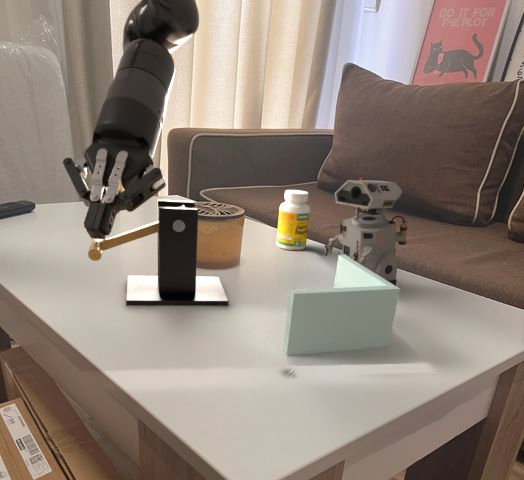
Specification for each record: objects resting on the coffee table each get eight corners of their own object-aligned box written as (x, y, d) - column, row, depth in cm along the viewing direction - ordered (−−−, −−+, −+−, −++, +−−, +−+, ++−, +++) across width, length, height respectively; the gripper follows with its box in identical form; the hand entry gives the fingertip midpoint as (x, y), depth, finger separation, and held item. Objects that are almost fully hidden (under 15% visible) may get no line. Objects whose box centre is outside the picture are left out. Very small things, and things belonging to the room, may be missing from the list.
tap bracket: (126, 312, 61) (123, 210, 56) (127, 286, 69) (125, 194, 64) (227, 312, 64) (234, 215, 59) (218, 287, 72) (222, 199, 67)
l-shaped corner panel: (335, 311, 67) (344, 254, 64) (386, 353, 57) (400, 288, 54) (247, 316, 63) (252, 256, 60) (285, 363, 53) (294, 293, 50)
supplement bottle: (287, 240, 97) (292, 187, 93) (311, 247, 95) (318, 193, 90) (269, 245, 93) (275, 190, 89) (294, 252, 91) (301, 195, 86)
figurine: (306, 277, 79) (319, 173, 72) (362, 269, 85) (380, 173, 78) (345, 297, 72) (364, 185, 66) (403, 288, 78) (426, 184, 72)
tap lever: (93, 266, 60) (83, 247, 58) (96, 251, 65) (88, 233, 64) (194, 231, 60) (186, 211, 59) (189, 219, 65) (182, 201, 64)
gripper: (71, 89, 64) (26, 210, 58) (176, 99, 62) (140, 224, 57) (93, 133, 71) (55, 245, 65) (188, 143, 69) (157, 258, 64)
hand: (95, 235), depth 61 cm, fingers closed
